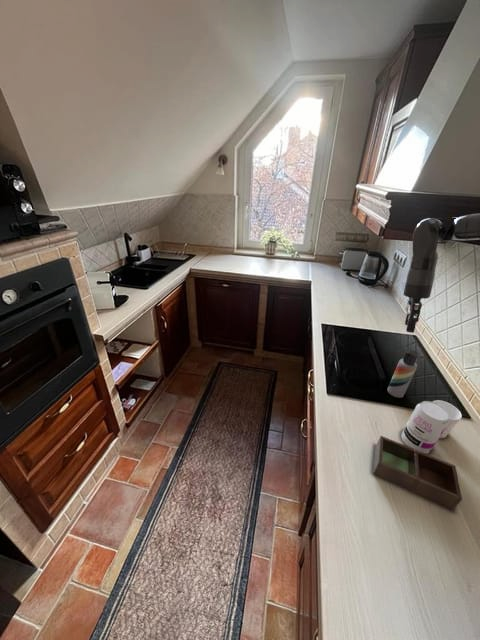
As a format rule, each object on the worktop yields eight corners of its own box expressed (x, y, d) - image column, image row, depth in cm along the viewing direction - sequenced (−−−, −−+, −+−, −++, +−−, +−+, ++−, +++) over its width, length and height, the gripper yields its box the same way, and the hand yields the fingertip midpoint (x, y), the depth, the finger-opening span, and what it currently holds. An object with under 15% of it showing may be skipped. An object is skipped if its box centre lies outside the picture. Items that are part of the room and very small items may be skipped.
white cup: (443, 445, 80) (457, 424, 75) (416, 428, 85) (427, 408, 80) (451, 432, 85) (464, 411, 80) (424, 416, 90) (436, 396, 85)
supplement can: (429, 438, 82) (449, 406, 75) (431, 460, 76) (453, 427, 68) (401, 427, 86) (417, 395, 78) (400, 446, 79) (418, 414, 72)
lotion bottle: (390, 386, 103) (407, 345, 93) (405, 394, 99) (425, 353, 89) (384, 392, 100) (401, 351, 90) (399, 401, 96) (419, 359, 86)
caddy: (446, 477, 71) (455, 465, 69) (451, 511, 64) (462, 499, 61) (375, 447, 79) (380, 435, 76) (372, 474, 72) (378, 462, 69)
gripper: (436, 287, 77) (424, 336, 82) (429, 280, 89) (419, 324, 94) (407, 284, 80) (397, 332, 85) (404, 279, 92) (396, 321, 97)
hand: (409, 328), depth 89 cm, fingers open, 8 cm apart
